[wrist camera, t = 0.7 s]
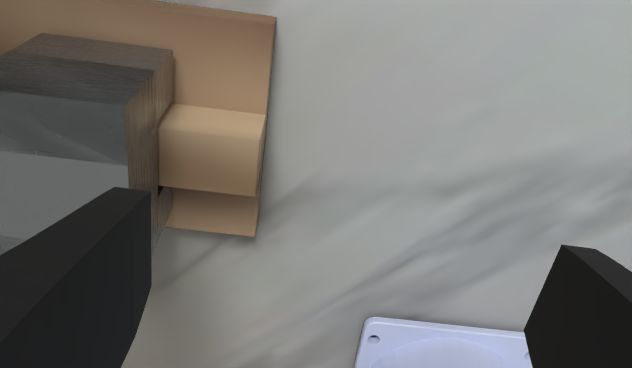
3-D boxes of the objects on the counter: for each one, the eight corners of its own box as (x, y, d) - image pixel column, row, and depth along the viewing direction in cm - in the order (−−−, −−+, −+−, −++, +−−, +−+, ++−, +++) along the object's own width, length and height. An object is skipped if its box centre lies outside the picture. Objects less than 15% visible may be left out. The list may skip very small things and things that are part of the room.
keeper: (173, 207, 20) (133, 294, 16) (60, 194, 20) (-10, 279, 16) (173, 50, 17) (124, 105, 13) (41, 32, 17) (-50, 84, 13)
